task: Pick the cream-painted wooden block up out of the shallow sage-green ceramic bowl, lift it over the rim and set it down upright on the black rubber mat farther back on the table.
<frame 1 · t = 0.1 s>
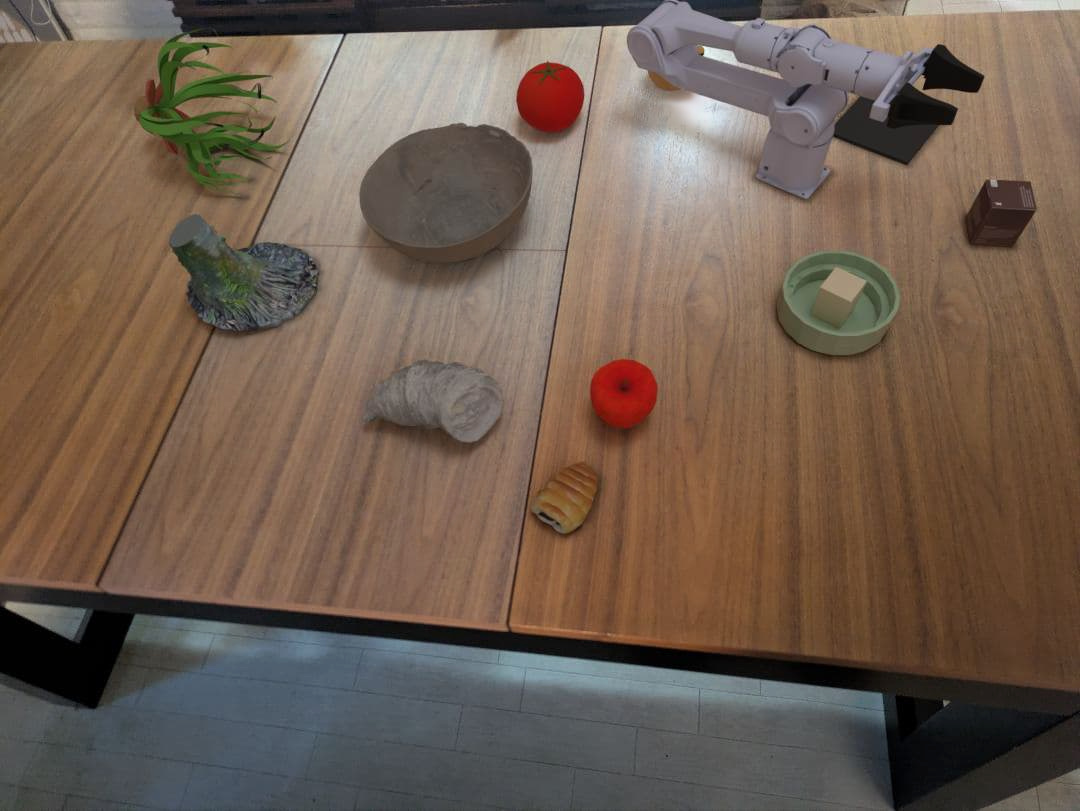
hand: (968, 100, 90), 22 cm above the table, tool horizontal, fingers open, 7 cm apart
seashell: (439, 419, 99), on the table
apple: (623, 414, 96), on the table
tree stump: (257, 293, 115), on the table
box: (987, 232, 106), on the table
block: (832, 311, 101), resting on green bowl
mat: (883, 129, 120), on the table
bowl: (457, 225, 118), on the table
green bowl: (831, 313, 101), on the table
tomato: (552, 123, 129), on the table
figurine: (674, 88, 131), on the table
pastry: (565, 503, 90), on the table
decorative plant: (226, 155, 134), on the table
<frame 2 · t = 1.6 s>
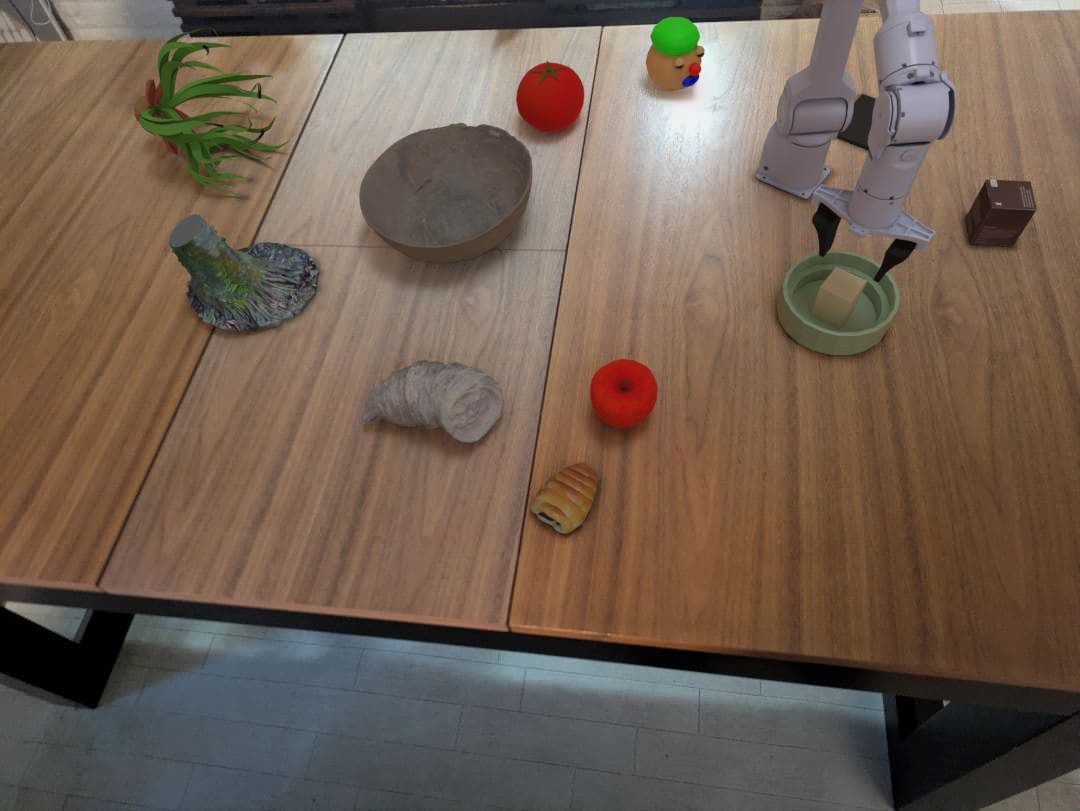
hand: (851, 264, 92), 10 cm above the table, tool pointing down, fingers open, 7 cm apart
nothing on the table moved.
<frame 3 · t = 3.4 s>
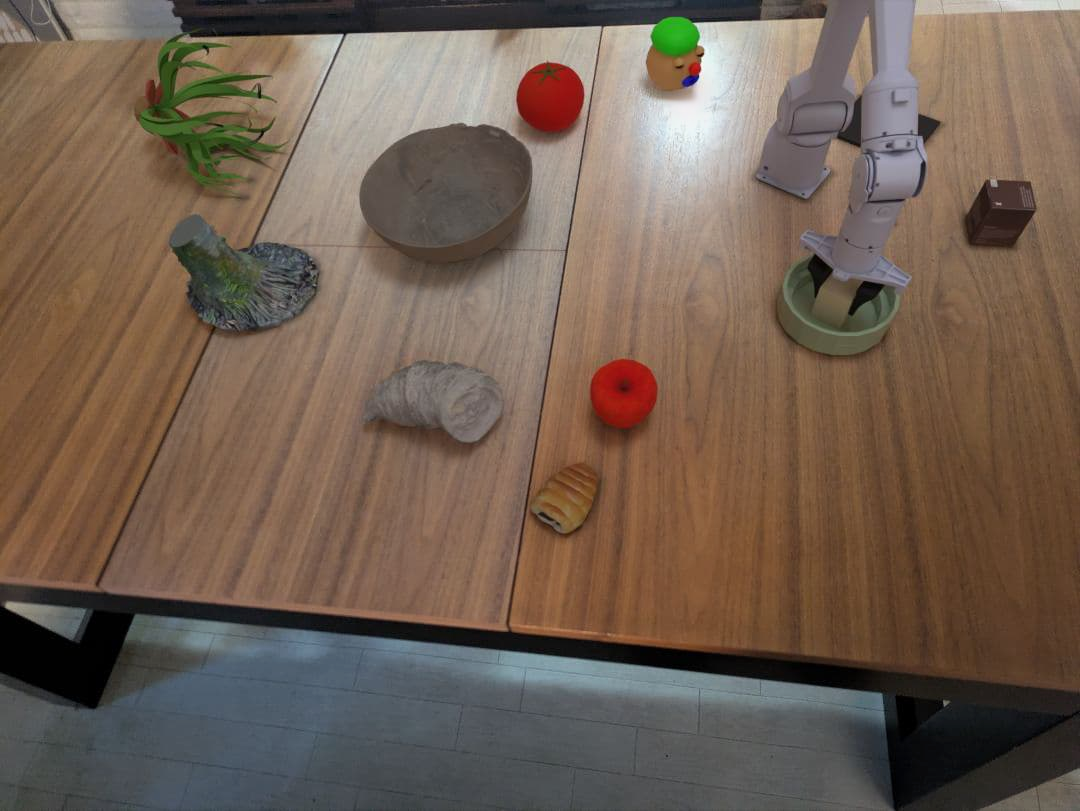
hand: (836, 302, 99), 3 cm above the table, tool pointing down, fingers closed on block, 4 cm apart
block: (832, 311, 101), point 1 cm above the table, touching green bowl, gripper
everything else where it was.
when the fingers open (3 cm above the table, at t = 10.3 s): block stays where it is, resting on mat.
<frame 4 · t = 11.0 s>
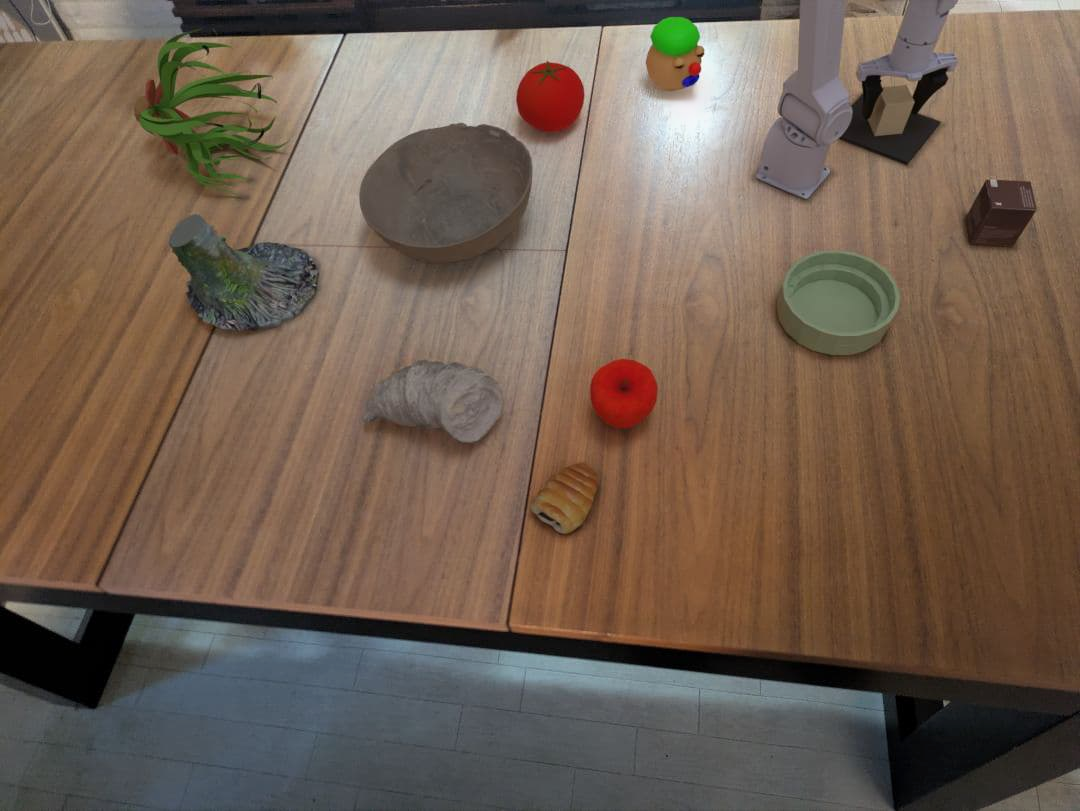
hand: (889, 113, 117), 3 cm above the table, tool pointing down, fingers open, 7 cm apart
block: (884, 126, 119), point 1 cm above the table, touching mat
everything else where it was.
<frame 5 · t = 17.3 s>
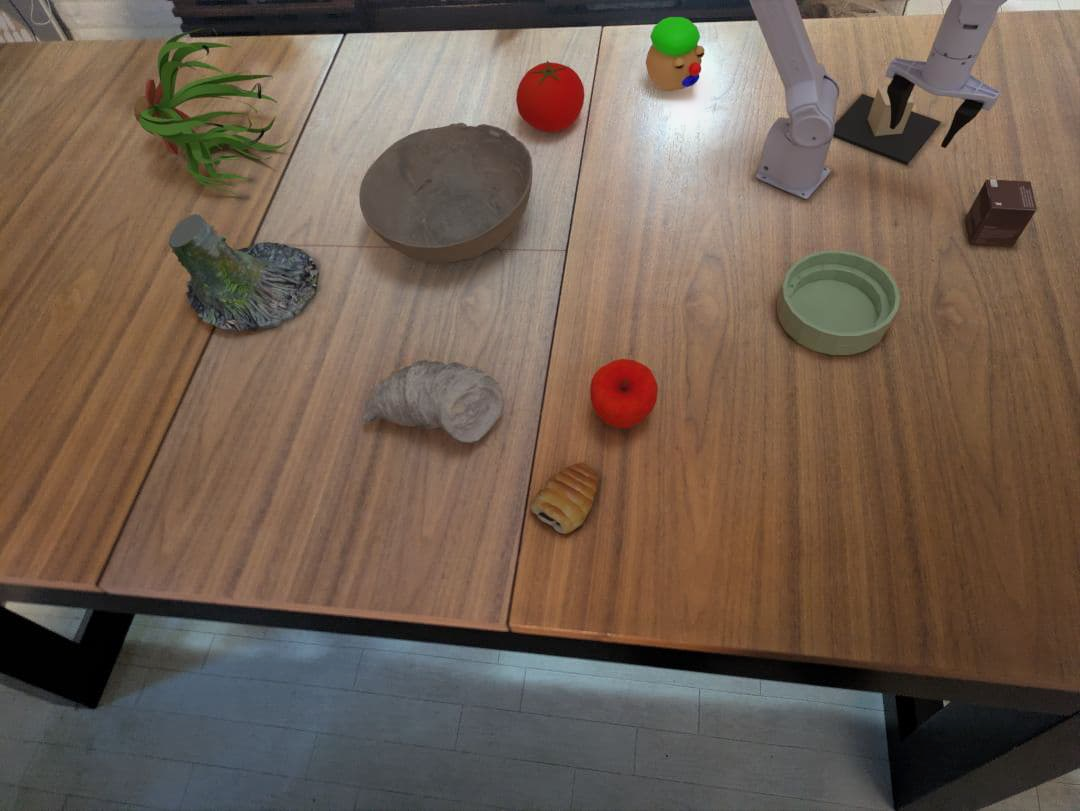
hand: (919, 134, 103), 10 cm above the table, tool pointing down, fingers open, 7 cm apart
nothing on the table moved.
at the end: block inside the target area on the mat (0.1 cm from its centre), point 0.6 cm above the mat's base; block tilted 0°; the gripper is holding nothing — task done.
